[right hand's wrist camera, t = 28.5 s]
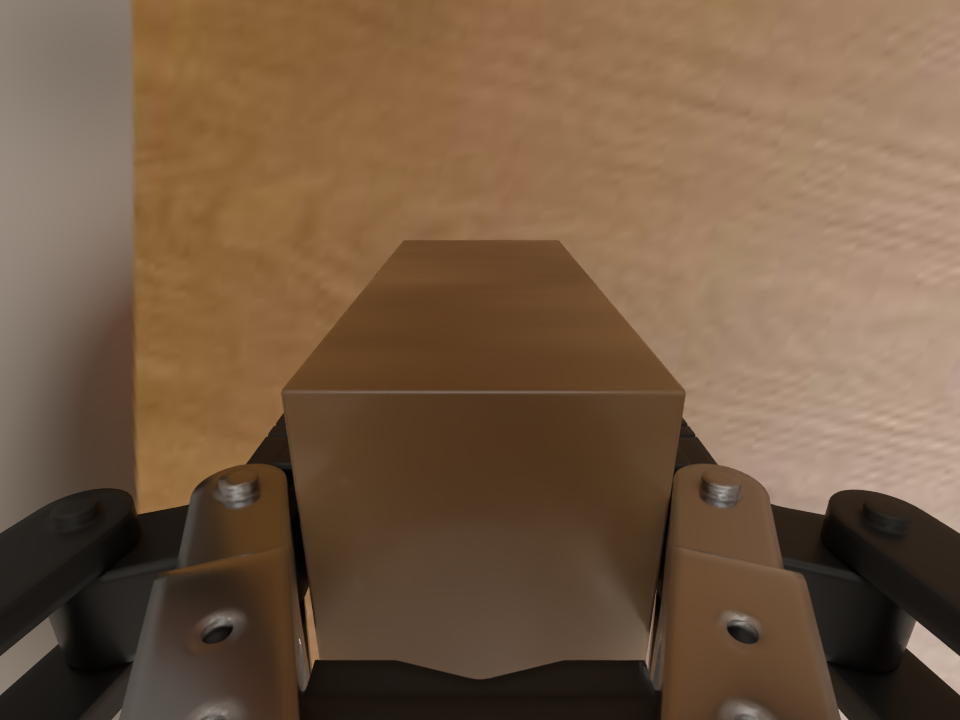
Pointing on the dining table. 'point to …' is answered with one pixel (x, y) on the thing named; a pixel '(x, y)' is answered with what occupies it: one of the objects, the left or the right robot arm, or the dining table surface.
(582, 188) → the dining table surface
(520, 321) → the brick
